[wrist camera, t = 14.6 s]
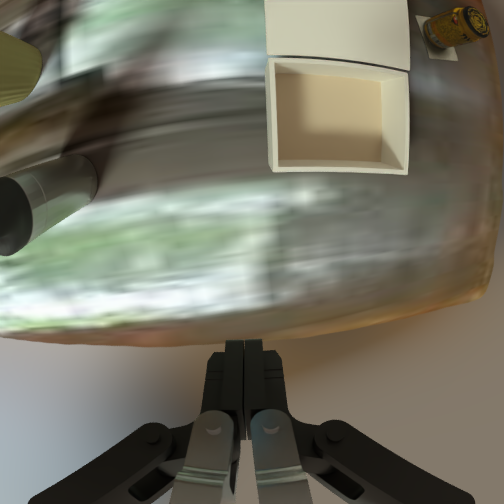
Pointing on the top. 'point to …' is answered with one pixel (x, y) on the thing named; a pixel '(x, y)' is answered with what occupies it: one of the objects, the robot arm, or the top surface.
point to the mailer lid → (340, 30)
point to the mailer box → (336, 117)
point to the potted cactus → (17, 69)
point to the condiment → (452, 31)
